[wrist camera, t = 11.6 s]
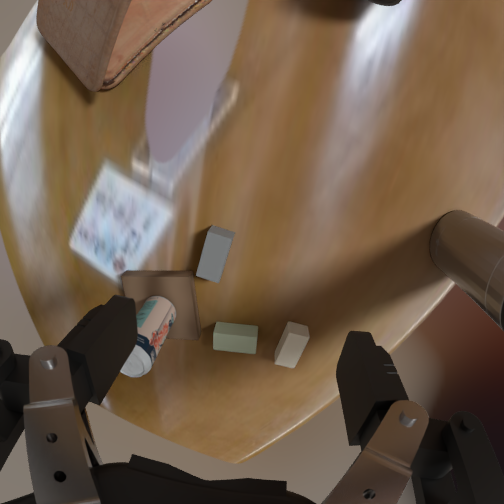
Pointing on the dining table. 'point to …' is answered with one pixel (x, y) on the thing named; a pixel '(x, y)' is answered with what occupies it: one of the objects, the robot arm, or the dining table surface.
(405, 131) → the dining table surface
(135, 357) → the beer can
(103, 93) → the dining table surface
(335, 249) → the dining table surface
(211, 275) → the slate brick
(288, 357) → the cream brick
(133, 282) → the walnut slab
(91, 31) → the case
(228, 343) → the sage brick
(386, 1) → the bluetooth speaker
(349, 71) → the dining table surface
